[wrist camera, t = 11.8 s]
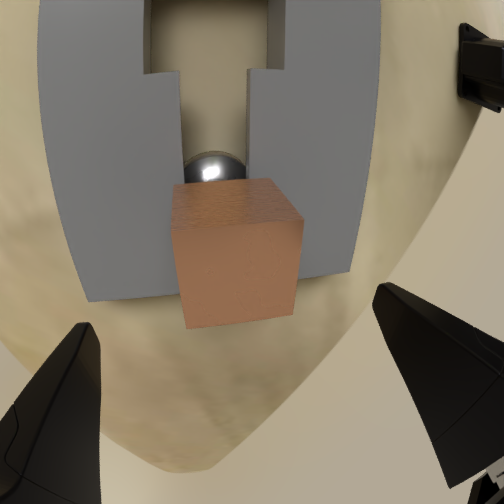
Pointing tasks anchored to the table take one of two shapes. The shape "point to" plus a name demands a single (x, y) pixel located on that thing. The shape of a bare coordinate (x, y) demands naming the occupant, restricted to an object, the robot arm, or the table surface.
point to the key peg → (233, 243)
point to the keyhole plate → (170, 137)
